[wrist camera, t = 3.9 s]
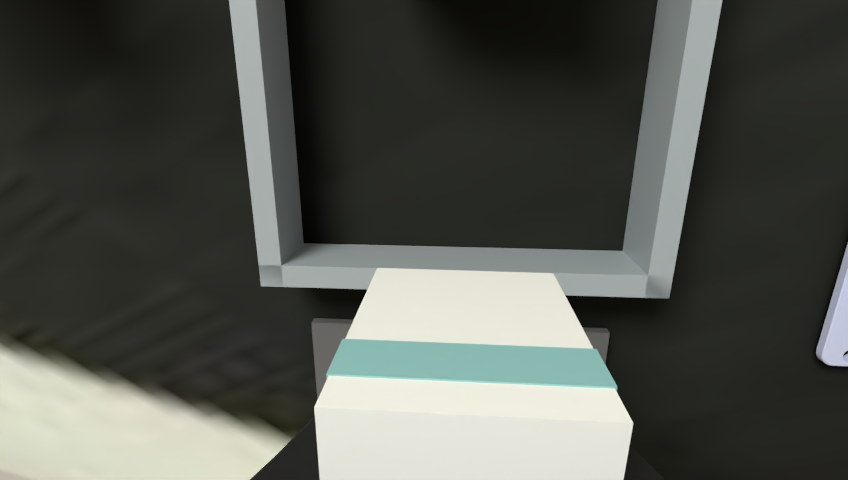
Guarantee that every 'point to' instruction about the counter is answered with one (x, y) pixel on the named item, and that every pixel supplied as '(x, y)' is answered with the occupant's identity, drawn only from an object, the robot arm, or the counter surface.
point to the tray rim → (574, 269)
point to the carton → (469, 384)
